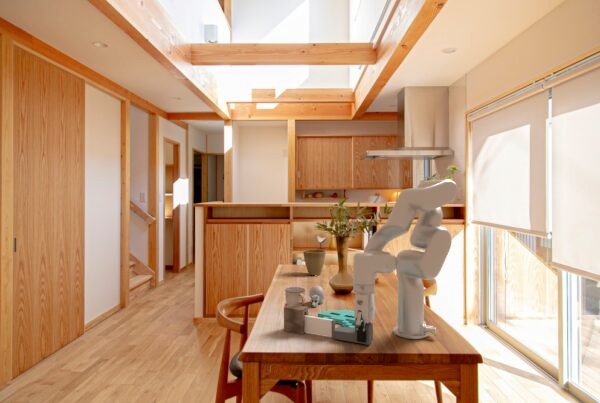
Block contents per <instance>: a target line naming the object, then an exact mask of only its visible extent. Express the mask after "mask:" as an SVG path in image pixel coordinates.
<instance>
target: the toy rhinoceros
mask: <svg viewBox="0 0 600 403" xmlns="http://www.w3.org/2000/svg"><path fill="white" fill-rule="evenodd" d="M308 295H309V297H310V302H311V306H312V307H313V308H317V307H318V306H319V305H322V304H323V303H324V299H325V296H324V295H325V291H324V289H323V287H321V286H320V285H313V286H312V287H310V289H309V292H308Z"/></svg>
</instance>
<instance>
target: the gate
mask: <svg viewBox="0 0 600 403" xmlns="http://www.w3.org/2000/svg"><path fill="white" fill-rule="evenodd" d="M335 329H336V323H335V320H334V319H333V320H332V319H326V318H319V317H318V316H311V315H308V316H306V315H304V333H309V334H314V335H320V336H326V337H331V338H334V330H335Z"/></svg>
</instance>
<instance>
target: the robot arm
mask: <svg viewBox="0 0 600 403" xmlns="http://www.w3.org/2000/svg"><path fill="white" fill-rule="evenodd" d="M458 194H459V187H458V185H457V183H456V182H455V181H453V180H451V179H431V180H424V181H422V182H419V184H418V185H417V187H416V188H415V187H413V188H405V189H403V190H401V192H400V193H399V195H398V197H397V199H396V201H395V204H394V206H393V208H392V209H391V211H390V214H389V216H388V218H387V220H386V222H385V223H384V224H383V225H382V226H381V227H379V228H378V230H376V231H375V232H374V233H373V234H372V235H371V237H370V238H369V240H368V241H367V244H366V246H365V248H364V250H363V252H356V253H354V255H353V259H352V260H353V261H352V262H353V263H352V264H353V267H352V268H353V271H352V273H353V276H352V277H353V280H352V281H353V283H352V285H353V288H352V289H353V290H352V291H353V293H354V294H355V296H354V310H353V311H354V316H355V321H356V326H357V341H358V342H363V343H366V331H365V327H366V323H372V320H373V319H374V318H375V316H376V314H375V313H376V312H375V311H376V310H375V292H376V274H391V273H392V272H394V271H396V277H397V278H396V279H397V325H396V326H394V327H393V329H392V330H393V333H394V334H395V335H396V336H398V337H400V338H404V339H407V340H409V339H410V340H421V339H425V338H427V337H428V336H429V333H431V334H436V333H437V327H434V326H433V325H427V324H426V321H425V320H424V319H425V313H424V312H425V306H424V304H425V302H424V300H425V286H424V281H425V280H426V281H432V280H434V279H435V278H436V277H438V275H439V274H440V272H441V271H442V268H443V266H444V263H445V262H446V259H447V256H448V254H449V252H450V249H451V246H452V235H451V232H450V231H449V229H447V228H445V227H443V226H442V222H443V219H444V213H443V210H442V207H443V206H445V205H448V204H450V203H452V202H453V201H455V199H456V198H457V196H458ZM418 212H420V213H419V216H418V217H417V220H416V223H415V225H414V227H413V229H412V232H411V234H410V237H409V243H410V245H411V246H412V247H413V248H415V249H417V250H415V249H414V250H413V249H403V250H401V251H400V252H398V254H397V255H396V256H395V255H394V253H391V252H388V251H383V250H384V248H385V247H386V246H387V244H389V243H390V242H391V241H393V240H394V239H397V238H399V237H401V236H403V235H405V234H407V233H409V231H410V229H411V225H412V224H413V222H414V220H415V218H416V215H417V213H418ZM420 250H422V251H420ZM423 280H424V281H423ZM361 320H362V321H361ZM361 323H362V324H363V325H361Z"/></svg>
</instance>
